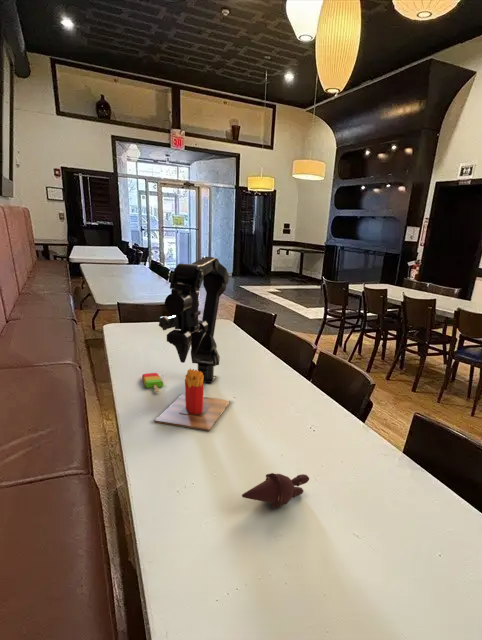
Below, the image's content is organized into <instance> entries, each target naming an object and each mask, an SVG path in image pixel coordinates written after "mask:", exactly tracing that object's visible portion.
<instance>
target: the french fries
mask: <svg viewBox="0 0 482 640" xmlns="http://www.w3.org/2000/svg"><path fill="white" fill-rule="evenodd" d="M197 370H198V369H194V368H193V369H192V368H189V369H188V370H187V372H186V374H185V379H184V392H185V393H184V394H185V396H186V409H187V410H188V411H189V412H190V413H192V414H199V413H202V411H203V397H204V390H205V389H204V388H205V386H204V385H205V384H204V382H203V379H204V375H203V373H201V371H200V372H199V371H197Z"/></svg>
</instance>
